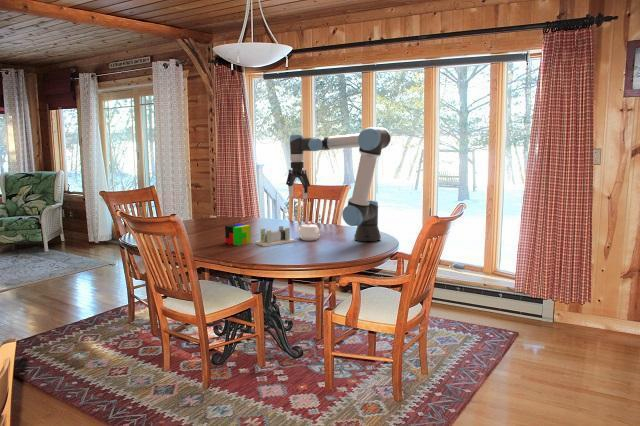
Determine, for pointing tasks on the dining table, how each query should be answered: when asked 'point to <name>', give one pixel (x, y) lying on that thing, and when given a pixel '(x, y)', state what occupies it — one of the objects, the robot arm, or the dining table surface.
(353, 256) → the dining table surface
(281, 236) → the bar
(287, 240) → the rack
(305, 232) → the teapot
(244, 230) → the puzzle toy
